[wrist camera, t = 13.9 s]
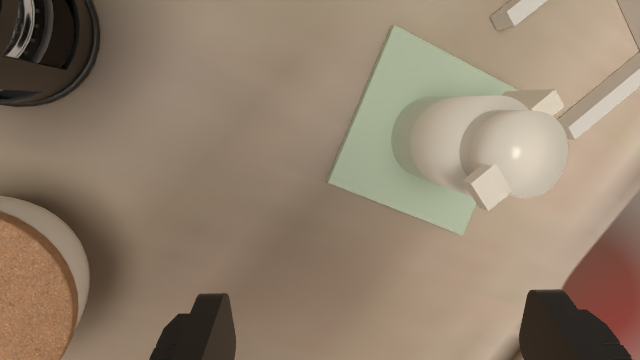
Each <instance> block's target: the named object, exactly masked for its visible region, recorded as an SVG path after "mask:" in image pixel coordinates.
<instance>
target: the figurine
mask: <svg viewBox="0 0 640 360" xmlns="http://www.w3.org/2000/svg"><path fill="white" fill-rule="evenodd" d="M563 107H564V105H563V103H562V101H561V99H560V97H559V95H558V93H557V92H556V90H555V89H548V90H522V91H505V92H504V93H503V94H502V95H492V96H451V97H425V98H421V99H418V100H415V101H414V102H412V103H410V104H409V105H407V106H406V107H405V108H404V109H403V110H402V111H401V113H400V114H399V116H398V117H397V119H396V121H395V123H394V126H393V129H392V135H391V145H392V150H393V154H394V156H395V158H396V160H397V162H398V163H399V165H400V166H401V167H402V168H403V169H404V170H405V171H407V172H408V173H410V174H412V175H414V176H417V177H420V178H422V179H425V180H428V181H430V182H433V183H436V184H438V185H441V186H444V187H446V188H449V189H451V190H454V191H457V192H459V193H462V194H465V195H467V196H470V197H473V199H474V200H475V202H476V203H477V205H478V206H479V208H482V209H484V210H487V211H489V210H490V209H491V208H493V207H494V206H495V205H496V204H498V203H499V202H500V201H501V200H502V199H504V198H505V197H507V196H509V195H512V196H515V197H519V198H532V197H536V196H539V195H541V194H543V193H545V192H546V191H548V190H549V189H550V188H551V187H552V186H554V185H555V183H556V182H557V181H558V180H559V178H560V177H561V175H562V173H563V171H564V169H565V166H566V163H567V159H568V140H567V136H566V133H565V131H564V128H563V127H562V125H561V124H560V123H559V121H558V120H557V119H555V118H554V117H553V115H554V114H556V113H557V112H558V111H559V110H561V109H562V108H563Z"/></svg>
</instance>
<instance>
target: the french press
mask: <svg viewBox="0 0 640 360" xmlns="http://www.w3.org/2000/svg"><path fill="white" fill-rule="evenodd" d="M65 1H66V3H67V5H68V6H69V9H70V12H71V15H72V18H73V23H74V43H73V46H72V50H71V53H70V55H69V57H68V58H67V60H66V62H65V63H64V64H63V65H62V67H56V66H51V65H47V64H42V63H40V62H41V60H42V59H43V57H44V55H45V53H46V50H47V48H48V46H49V42H50V38H51V34H52V29H53V6H52V0H0V105H6V106H14V107H26V106H38V105H42V104H47V103H51V102H53V101H56V100H58V99H60V98H62V97H64V96H66V95H68V94H69V93H70V92H72V91H73V90H74V89H76V88H77V87H78V86H79V85H80V84H81V83H82V82H83V81H84V79H85V78H86V77H87V76H88V74H89V72H90V71H91V69H92V67H93V65H94V63H95V60H96V57H97V53H98V50H99V40H100V30H99V23H98V17H97V14H96V11H95V8H94V5H93V2H92V0H65Z"/></svg>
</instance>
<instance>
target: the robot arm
mask: <svg viewBox="0 0 640 360" xmlns="http://www.w3.org/2000/svg"><path fill="white" fill-rule="evenodd" d="M519 343H520V349H521V353H522V356H523V358H524V360H632V359H631V355H630V354H629V353H628V352H627V350H626V349H625V348H624V346H623V345H620V341H619V340H618V339H617V337H616V336H615V335H614V334H613V332H612V331H611V330H610V329H609V327H608V326H607V325H606V324H605V323H604V322H602V321H601V320H600V319H598V318H597V317H596V316H594V315H593V314H592V313H590V312H589V311H588V310H578V309H577V308H576V306H575V305H574V303H573V302H572V301H571V299H570V298H569V297H568V295H567V294H566V293H565V292H564V291H563V290H560V289H558V290H530V291H529V293H528V295H527V299H526V304H525V309H524V313H523V318H522V323H521V328H520V333H519ZM235 350H236V336H235V329H234V323H233V318H232V312H231V306H230V300H229V296H228V294H226V293H224V294H199V295H198V296H197V298H196V301H195V303H194V305H193V308H192V310H191V312H190V314H178V315H177V316H176V317H175V318H174V319H173V320H172V321H171V322H170V323H169V324H168V325H167V326H166V327H165V328H164V329H163V331H162V334H161V336H160V338H159V340H158V342H157V344H156V348H154V350H153V352H152V354H151V356H150V359H149V360H234V357H235Z"/></svg>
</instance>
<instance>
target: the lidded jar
mask: <svg viewBox="0 0 640 360" xmlns="http://www.w3.org/2000/svg"><path fill="white" fill-rule="evenodd" d="M89 283H90V272H89V264H88V260H87V256H86V253H85V251H84V249H83V247H82V244H81V242H80V241H79V239H78V238H77V236H76V235H75V233H74V232H73V231H72V229H71V228H70V227H69V226H68V225H67V224H66V223H65V222H64V221H63V220H61V219H60V218H59V217H57V216H56V215H55V214H53V213H51V212H50V211H48V210H46V209H45V208H43V207H40V206H38V205H35V204H33V203H31V202H28V201H24V200H20V199H17V198H12V197H4V196H0V360H60V359H61V357H62V356H63V354H64V352H65V351H66V349H67V347H68V345H69V343H70V341H71V339H72V337H73V333H74V331H75V329H76V327H77V325H78V323H79V321H80V319H81V317H82V314H83V311H84V308H85V305H86V302H87V298H88V292H89Z"/></svg>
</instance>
